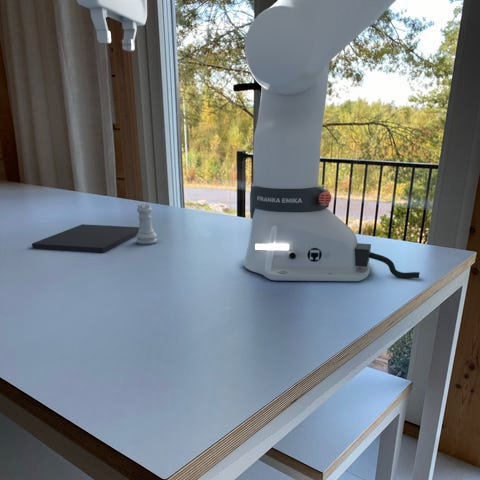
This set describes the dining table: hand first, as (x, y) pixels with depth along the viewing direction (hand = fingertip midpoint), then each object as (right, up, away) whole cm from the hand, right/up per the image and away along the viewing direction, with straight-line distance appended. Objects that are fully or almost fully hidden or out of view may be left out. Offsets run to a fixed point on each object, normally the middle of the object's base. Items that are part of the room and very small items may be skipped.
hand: (117, 47), depth 82 cm
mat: (-11, -30, +23) cm, 39 cm away
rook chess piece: (+1, -31, +20) cm, 37 cm away
